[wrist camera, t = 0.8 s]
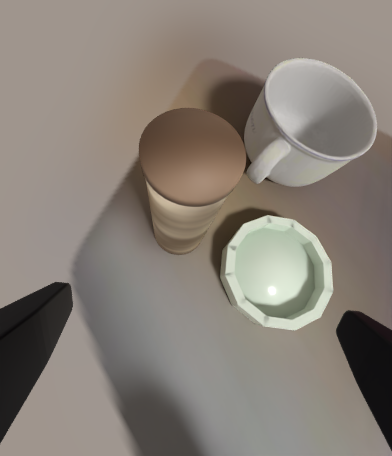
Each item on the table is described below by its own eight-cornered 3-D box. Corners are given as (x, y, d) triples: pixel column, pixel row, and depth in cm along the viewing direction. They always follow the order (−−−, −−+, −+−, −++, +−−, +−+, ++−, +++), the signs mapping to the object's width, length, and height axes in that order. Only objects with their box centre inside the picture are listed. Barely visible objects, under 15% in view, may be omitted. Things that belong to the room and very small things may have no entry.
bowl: (336, 300, 22) (352, 300, 20) (248, 346, 20) (257, 350, 18) (288, 211, 24) (298, 203, 22) (204, 242, 22) (208, 236, 20)
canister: (211, 245, 22) (263, 181, 10) (163, 263, 21) (160, 214, 9) (192, 201, 23) (220, 99, 12) (146, 216, 22) (124, 120, 10)
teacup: (281, 109, 29) (322, 42, 22) (339, 172, 27) (406, 122, 20) (195, 155, 25) (208, 93, 18) (255, 232, 23) (299, 199, 16)
